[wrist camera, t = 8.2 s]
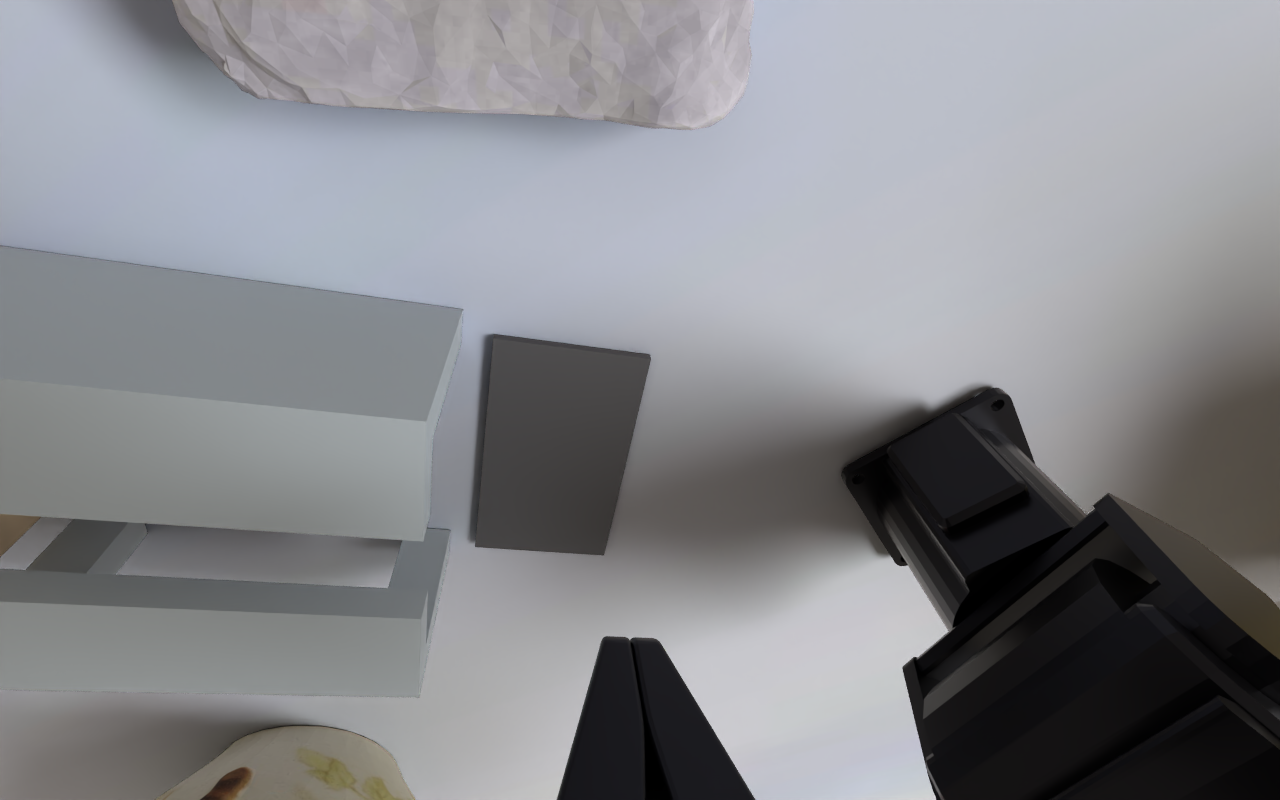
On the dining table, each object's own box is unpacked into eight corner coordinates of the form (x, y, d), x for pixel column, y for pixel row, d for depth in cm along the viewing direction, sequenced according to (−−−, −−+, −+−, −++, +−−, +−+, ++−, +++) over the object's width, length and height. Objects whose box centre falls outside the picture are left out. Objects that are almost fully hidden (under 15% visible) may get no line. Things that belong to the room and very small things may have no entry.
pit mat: (649, 354, 20) (650, 359, 20) (603, 549, 25) (603, 555, 25) (494, 334, 19) (493, 338, 19) (476, 541, 24) (475, 547, 24)
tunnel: (462, 309, 19) (426, 422, 14) (449, 552, 24) (419, 697, 19) (-4, 245, 16) (-256, 352, 11) (96, 530, 22) (-45, 688, 17)
